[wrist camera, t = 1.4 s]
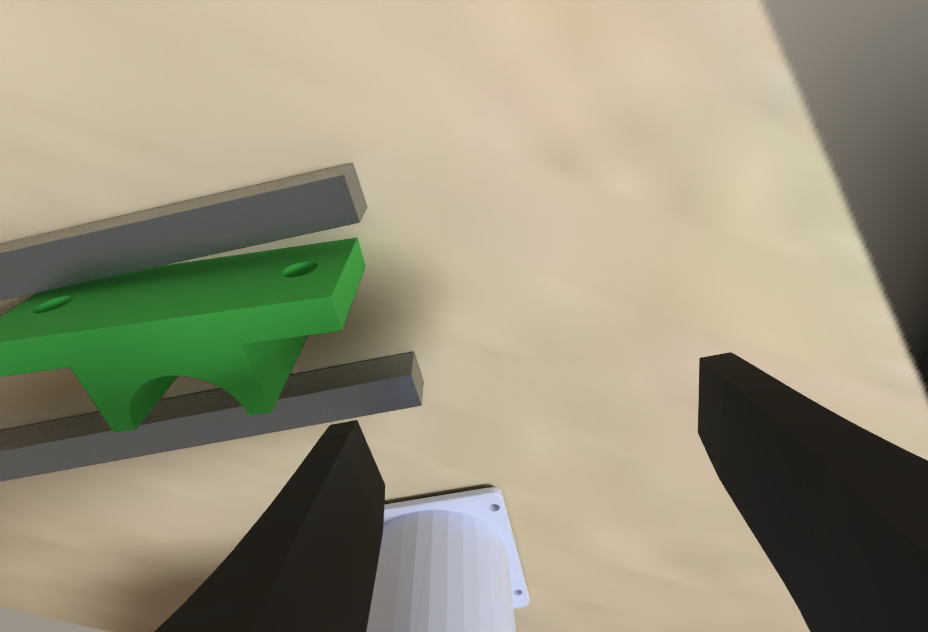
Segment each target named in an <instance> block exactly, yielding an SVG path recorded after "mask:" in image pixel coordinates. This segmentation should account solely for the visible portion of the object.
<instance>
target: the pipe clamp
mask: <svg viewBox="0 0 928 632" xmlns="http://www.w3.org/2000/svg"><path fill="white" fill-rule="evenodd" d="M364 269H365V264H364V260H363V256H362V252H361V249H360V245H359V241H358V238H352V239H345V240H338V241H331V242H324V243H317V244H310V245H303V246H296V247H290V248H283V249H276V250H269V251H262V252H255V253H248V254H241V255H234V256H227V257H220V258H214V259H207V260H200V261H193V262H186V263H179V264H172V265H165V266H158V267H153V268H149V269H144V270H139V271H135V272H130V273H126V274H121V275H116V276H112V277H107V278H103V279H98V280H94V281H89V282H84V283H80V284H75V285H71V286H66V287H61V288H57V289H52V290H48V291H43V292H38V293H36V294H35V295H33V296H32V297H30V298H29V299H27V300H25V301H24V302H22V303H21V304H19V305H18V306H16V307H15V308H13V309H12V310H10V311H9V312H7V313H5V314H4V315H2V316H1V317H0V377H1V376H8V375H16V374H23V373H31V372H38V371H46V370H53V369H61V368H68V367H70V368H71V370H72V371H73V373H74V374H75V376H76V377H77V379H78V380H79V382H80V383H81V385H82V386H83V387H84V389H85V390H86V392H87V393H88V395H89V396H90V398H91V399H92V401H93V402H94V404H95V405H96V407H97V408H98V410H99V411H100V413H101V414H102V416H103V417H104V419H105V420H106V422H107V423H108V425H109V426H110V428H111V429H112V431H113V432H114V433H115V432H123V431H130V430H136V429H137V428H138V427H139V425H140V424H141V423H142V421H143V420H144V419H145V418H146V416H147V415H148V414H149V412H150V411H151V410H152V409H153V407H154V406H155V405H156V404H157V402H158V401H159V400H160V398H161V397H162V396H163V395H164V393H165V392H166V391H167V389H168V388H169V387H170V386H171V384H172V383H173V382H174V380H175V379H176V378H177V377H178V376H188V377H193V378H198V379H201V380H204V381H207V382H210V383H212V384H214V385H216V386H218V387H220V388H222V389H224V390H225V391H227V392H228V393H229V394H231V395H232V396H233V397H234V398H235V399H236V400H238V401H239V403H240V404H241V405H242V406H243V407H244V409H245V410H246V412H247V414H248V415H249V416H250V415H258V414H266V413H272V411H273V409H274V406H275V404H276V402H277V400H278V398H279V396H280V394H281V391H282V389H283V387H284V385H285V383H286V381H287V379H288V376H289V374H290V372H291V370H292V368H293V366H294V364H295V361H296V359H297V357H298V355H299V353H300V351H301V349H302V347H303V344H304V342H305V340H306V335H314V334H321V333H329V332H336V331H342V329H343V327H344V324H345V321H346V318H347V316H348V313H349V310H350V307H351V305H352V302H353V299H354V296H355V294H356V291H357V288H358V285H359V283H360V280H361V277H362V274H363V272H364Z"/></svg>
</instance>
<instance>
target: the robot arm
mask: <svg viewBox="0 0 928 632" xmlns="http://www.w3.org/2000/svg"><path fill="white" fill-rule="evenodd" d="M698 434H699V436H700V438H701V440H702V443H703V445H704V447H705V449H706V452H707V454H708V456H709V458H710V460H711V462H712V464H713V467H714V469H715V471H716V473H717V475H718V477H719V479H720V480H721V482H722V484H723V485H724V487H725V489H726V490H727V492H728V494H729V495H730V497H731V499H732V500H733V502H734V503H735V505H736V507H737V508H738V510H739V512H740V513H741V515H742V516H743V518H744V520H745V521H746V523H747V524H748V526H749V528H750V529H751V531H752V532H753V534H754V536H755V537H756V539H757V540H758V542H759V544H760V545H761V547H762V548H763V550H764V552H765V553H766V555H767V556H768V558H769V560H770V561H771V563H772V564H773V566H774V568H775V569H776V571H777V572H778V574H779V576H780V577H781V579H782V580H783V582H784V584H785V585H786V587H787V589H788V591H789V592H790V594H791V596H792V598H793V599H794V601H795V603H796V605H797V606H798V608H799V610H800V612H801V614H802V616H803V618H804V620H805V622H806V624H807V626H808V628H809V630H810V632H928V461H927V460H925V459H923V458H921V457H919V456H917V455H915V454H913V453H910V452H908V451H906V450H904V449H902V448H900V447H898V446H896V445H894V444H892V443H891V442H889V441H887V440H885V439H883V438H881V437H879V436H877V435H875V434H873V433H871V432H869V431H867V430H865V429H863V428H861V427H859V426H857V425H856V424H854V423H852V422H850V421H848V420H846V419H845V418H843V417H841V416H839V415H837V414H835V413H834V412H832V411H830V410H828V409H826V408H825V407H823V406H821V405H819V404H818V403H816V402H814V401H812V400H811V399H809V398H807V397H806V396H804V395H802V394H800V393H799V392H797V391H795V390H794V389H792V388H790V387H789V386H787V385H785V384H783V383H782V382H780V381H778V380H777V379H775V378H773V377H772V376H770V375H768V374H767V373H765V372H763V371H762V370H760V369H759V368H757V367H755V366H754V365H752V364H750V363H748V362H747V361H745V360H743V359H742V358H740V357H738V356H736V355H735V354H733V353H731V352H730V353H725V354H719V355H714V356H708V357H703V358H700V366H699V409H698ZM384 503H385V484H384V481H383V479H382V477H381V474H380V472H379V470H378V467H377V465H376V463H375V460H374V458H373V456H372V454H371V451H370V449H369V447H368V444H367V442H366V440H365V437H364V435H363V433H362V430H361V428H360V426H359V423H358V421H357V420H355V421H349V422H344V423H338V424H333V425H330V426H329V427H328V428H327V430H326V431H325V432H324V434H323V435H322V436H321V438H320V439H319V440H318V442H317V443H316V444H315V446H314V447H313V448H312V450H311V451H310V453H309V454H308V455H307V457H306V458H305V459H304V461H303V462H302V463H301V465H300V466H299V468H298V469H297V470H296V472H295V473H294V474H293V476H292V477H291V478H290V480H289V481H288V482H287V484H286V485H285V486H284V487H283V489H282V490H281V491H280V493H279V494H278V495H277V497H276V498H275V499H274V501H273V502H272V503H271V505H270V506H269V507H268V508H267V510H266V511H265V512H264V513H263V514H262V516H261V517H260V518H259V519H258V521H257V522H256V523H255V524H254V525H253V527H252V528H251V529H250V530H249V531H248V533H247V534H246V535H245V536H244V538H243V539H242V540H241V541H240V542H239V544H238V545H237V546H236V547H235V548H234V550H233V551H232V552H231V553H230V554H229V555H228V556H227V558H226V559H225V560H224V561H223V562H222V563H221V564H220V565H219V567H218V568H217V569H216V570H215V571H214V572H213V573H212V574H211V575H210V576H209V577H208V579H207V580H206V581H205V582H204V583H203V584H202V585H201V586H200V587H199V588H198V589H197V590H196V591H195V592H194V593H193V594H192V595H191V596H190V597H189V598H188V600H187V601H186V602H185V603H184V604H183V605H182V606H181V607H180V608H179V609H178V610H177V611H176V612H175V613H173V614H172V615H171V616H170V617H169V618H168V619H167V620H166V621H165V622H164V623H163V624H162V625H161V626H160V627H159V628H158V629H157V630H156V631H155V632H516V627H515V617H514V609H515V608H522V607H526V606H527V605H528V604H529V603H530V600H529V594H528V590H527V586H526V582H525V578H524V575H523V571H522V567H521V563H520V559H519V555H518V552H517V548H516V544H515V540H514V536H513V532H512V529H511V525H510V521H509V517H508V513H507V510H506V506H505V502H504V498H503V494H502V492H501V490H499V489H498V488H495V487H489V488H483V489H477V490H470V491H464V492H458V493H452V494H446V495H440V496H434V497H427V498H421V499H415V500H409V501H403V502H397V503H390V504H384Z"/></svg>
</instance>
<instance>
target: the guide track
mask: <svg viewBox="0 0 928 632" xmlns="http://www.w3.org/2000/svg"><path fill="white" fill-rule="evenodd" d="M366 209H367V205H366V202H365V199H364V196H363V193H362V190H361V186H360V183H359V180H358V177H357V174H356V171H355V168H354V165H353V163H349V164H344V165H340V166H336V167H331V168H327V169H323V170H318V171H314V172H310V173H305V174H301V175H297V176H292V177H288V178H284V179H279V180H275V181H271V182H266V183H262V184H258V185H253V186H249V187H244V188H240V189H236V190H231V191H227V192H223V193H218V194H214V195H210V196H205V197H201V198H197V199H192V200H188V201H184V202H179V203H175V204H171V205H166V206H162V207H157V208H153V209H149V210H144V211H140V212H136V213H131V214H127V215H123V216H118V217H114V218H110V219H105V220H101V221H97V222H92V223H88V224H84V225H79V226H75V227H70V228H66V229H62V230H57V231H53V232H49V233H44V234H40V235H36V236H31V237H27V238H23V239H18V240H14V241H10V242H5V243H1V244H0V301H2V300H6V299H11V298H16V297H20V296H25V295H29V294H34V293H38V292H43V291H48V290H52V289H57V288H61V287H66V286H71V285H75V284H80V283H84V282H89V281H94V280H98V279H103V278H107V277H112V276H116V275H121V274H126V273H130V272H135V271H139V270H144V269H149V268H153V267H158V266H162V265H167V264H172V263H176V262H181V261H185V260H190V259H194V258H199V257H204V256H208V255H213V254H217V253H222V252H227V251H231V250H236V249H240V248H245V247H250V246H254V245H259V244H263V243H268V242H272V241H277V240H282V239H286V238H291V237H295V236H300V235H305V234H309V233H314V232H318V231H323V230H327V229H332V228H337V227H341V226H346V225H350V224H355V223H360V221H361V219H362V217H363V215H364V213H365V211H366ZM423 383H424V381H423V378H422V375H421V372H420V369H419V365H418V362H417V359H416V356H415V353H414V352H410V353H405V354H400V355H395V356H389V357H384V358H379V359H374V360H368V361H363V362H358V363H353V364H347V365H342V366H337V367H332V368H326V369H321V370H316V371H311V372H305V373H300V374H295V375H290V376H288V379H287V381H286V383H285V385H284V387H283V389H282V391H281V394H280V396H279V398H278V400H277V402H276V404H275V406H274V409H273V411H272V413H266V414H258V415H250V416H249V415H248V414H247V412H246V410H245V409H244V407H243V406H242V405H241V404H240V403H239V401H238V400H236V399H235V398H234V397H233V396H232V395H231V394H229V393H228V392H227V391H225V390H224V389H216V390H211V391H206V392H201V393H195V394H190V395H185V396H180V397H175V398H169V399H164V400H159V401H158V402H157V404H156V405H155V406H154V407H153V409H152V410H151V411H150V412H149V414H148V415H147V416H146V418H145V419H144V420H143V421H142V423H141V424H140V425H139V427H138V428H137V429H136V430H130V431H123V432H115V433H114V432H113V431H112V429H111V428H110V426H109V425H108V423H107V422H106V420H105V419H104V417H103V416H102V414H101V413H100V412H96V413H91V414H85V415H80V416H75V417H70V418H65V419H59V420H54V421H49V422H44V423H38V424H33V425H28V426H23V427H17V428H12V429H7V430H2V431H0V481H6V480H11V479H17V478H22V477H28V476H33V475H39V474H45V473H50V472H56V471H61V470H67V469H72V468H78V467H83V466H89V465H94V464H100V463H106V462H111V461H117V460H122V459H128V458H133V457H139V456H144V455H150V454H155V453H161V452H167V451H172V450H178V449H183V448H189V447H194V446H200V445H205V444H211V443H216V442H222V441H228V440H233V439H239V438H244V437H250V436H255V435H261V434H266V433H272V432H277V431H283V430H289V429H294V428H300V427H305V426H311V425H316V424H322V423H327V422H333V421H338V420H344V419H350V418H355V417H361V416H366V415H372V414H377V413H383V412H388V411H394V410H399V409H405V408H411V407H416V406H422V395H423Z"/></svg>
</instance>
